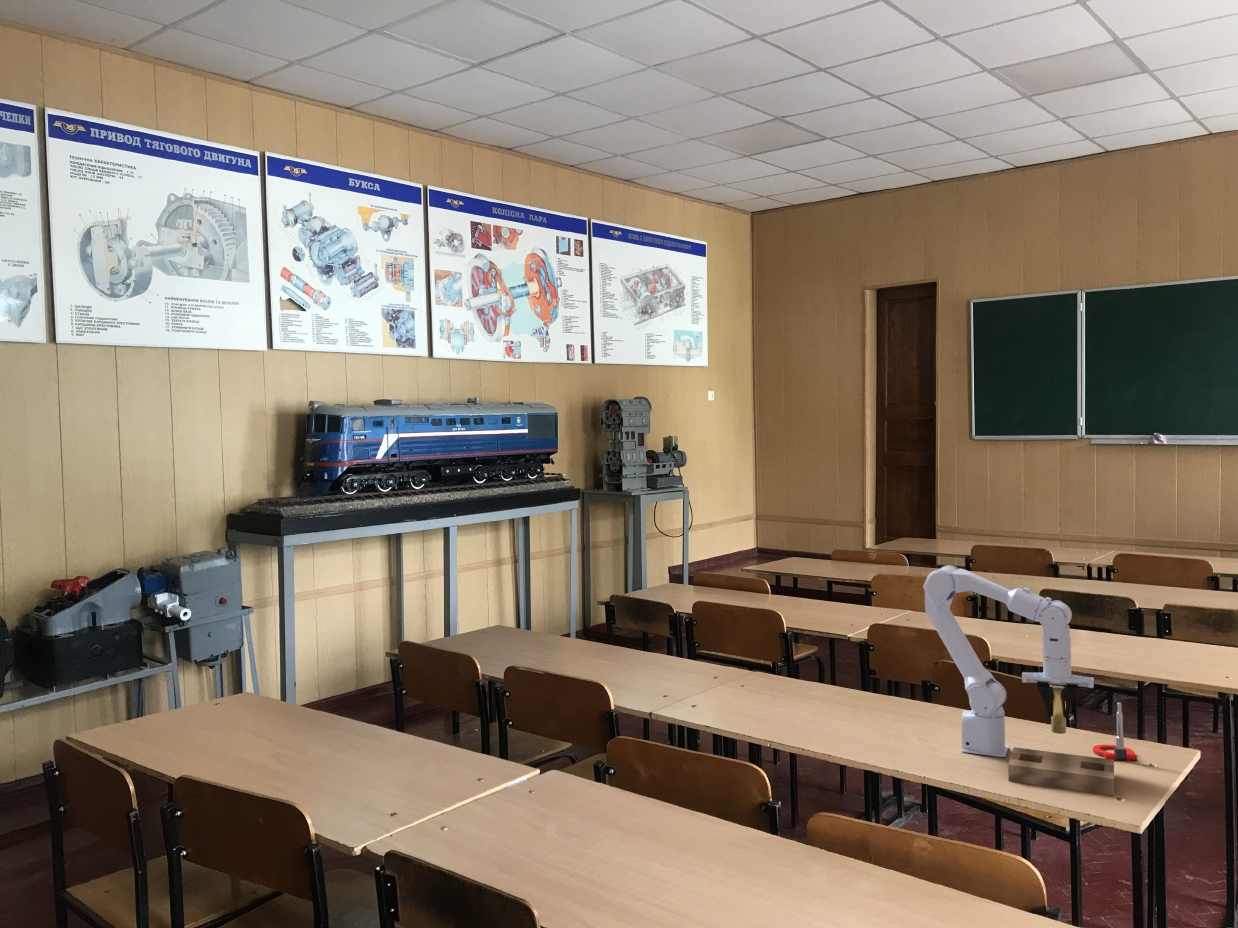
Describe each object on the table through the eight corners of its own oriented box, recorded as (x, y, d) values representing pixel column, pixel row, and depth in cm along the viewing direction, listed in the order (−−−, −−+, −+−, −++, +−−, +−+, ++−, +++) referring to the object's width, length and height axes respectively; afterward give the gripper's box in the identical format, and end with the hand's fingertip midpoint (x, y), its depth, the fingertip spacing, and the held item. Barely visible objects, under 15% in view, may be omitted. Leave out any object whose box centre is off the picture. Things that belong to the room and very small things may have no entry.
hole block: (1008, 780, 200) (1008, 764, 200) (1013, 762, 211) (1013, 747, 211) (1114, 795, 191) (1113, 778, 191) (1114, 775, 201) (1113, 759, 201)
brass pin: (1051, 732, 209) (1049, 688, 209) (1051, 728, 212) (1050, 685, 212) (1065, 734, 208) (1064, 689, 208) (1066, 730, 211) (1065, 686, 210)
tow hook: (1087, 748, 220) (1101, 760, 211) (1086, 693, 220) (1100, 703, 211) (1125, 749, 219) (1141, 761, 209) (1124, 694, 219) (1140, 704, 210)
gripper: (1020, 657, 209) (1021, 717, 210) (1092, 662, 203) (1094, 724, 203) (1022, 651, 216) (1024, 709, 216) (1093, 655, 209) (1094, 715, 209)
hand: (1058, 716), depth 210 cm, fingers closed on brass pin, 3 cm apart
